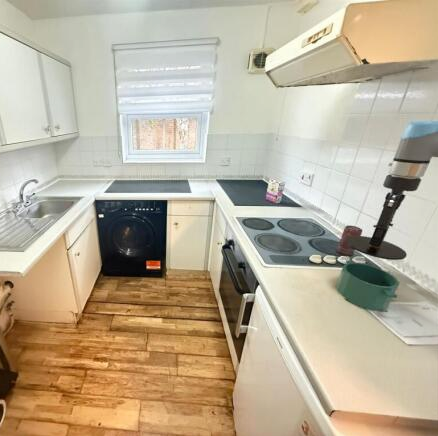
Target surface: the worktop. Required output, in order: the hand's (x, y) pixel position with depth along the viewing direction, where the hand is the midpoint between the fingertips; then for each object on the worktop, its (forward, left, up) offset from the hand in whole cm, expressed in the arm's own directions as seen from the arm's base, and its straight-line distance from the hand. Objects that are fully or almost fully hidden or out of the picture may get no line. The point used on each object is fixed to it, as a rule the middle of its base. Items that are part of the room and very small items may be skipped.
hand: (375, 243), depth 81 cm
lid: (0, 0, -1) cm, 1 cm away
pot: (0, +2, -20) cm, 20 cm away
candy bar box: (-9, -106, -20) cm, 108 cm away
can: (-13, -28, -20) cm, 37 cm away
